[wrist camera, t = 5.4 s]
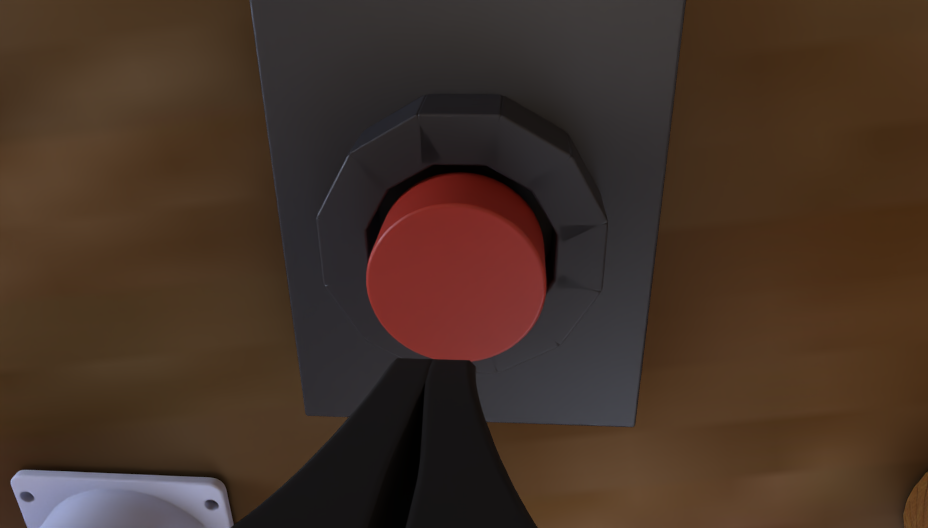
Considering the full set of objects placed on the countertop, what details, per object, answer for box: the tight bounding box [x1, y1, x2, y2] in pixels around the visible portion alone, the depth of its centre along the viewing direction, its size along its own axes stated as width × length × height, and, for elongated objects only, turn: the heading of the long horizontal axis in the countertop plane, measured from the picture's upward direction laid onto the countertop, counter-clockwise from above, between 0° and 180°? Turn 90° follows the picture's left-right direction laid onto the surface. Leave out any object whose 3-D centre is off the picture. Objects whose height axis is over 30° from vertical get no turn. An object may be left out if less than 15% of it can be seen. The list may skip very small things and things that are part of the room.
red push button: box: [366, 172, 547, 362], centre depth 17 cm, size 4×4×2 cm
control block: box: [250, 0, 686, 427], centre depth 19 cm, size 13×10×4 cm
